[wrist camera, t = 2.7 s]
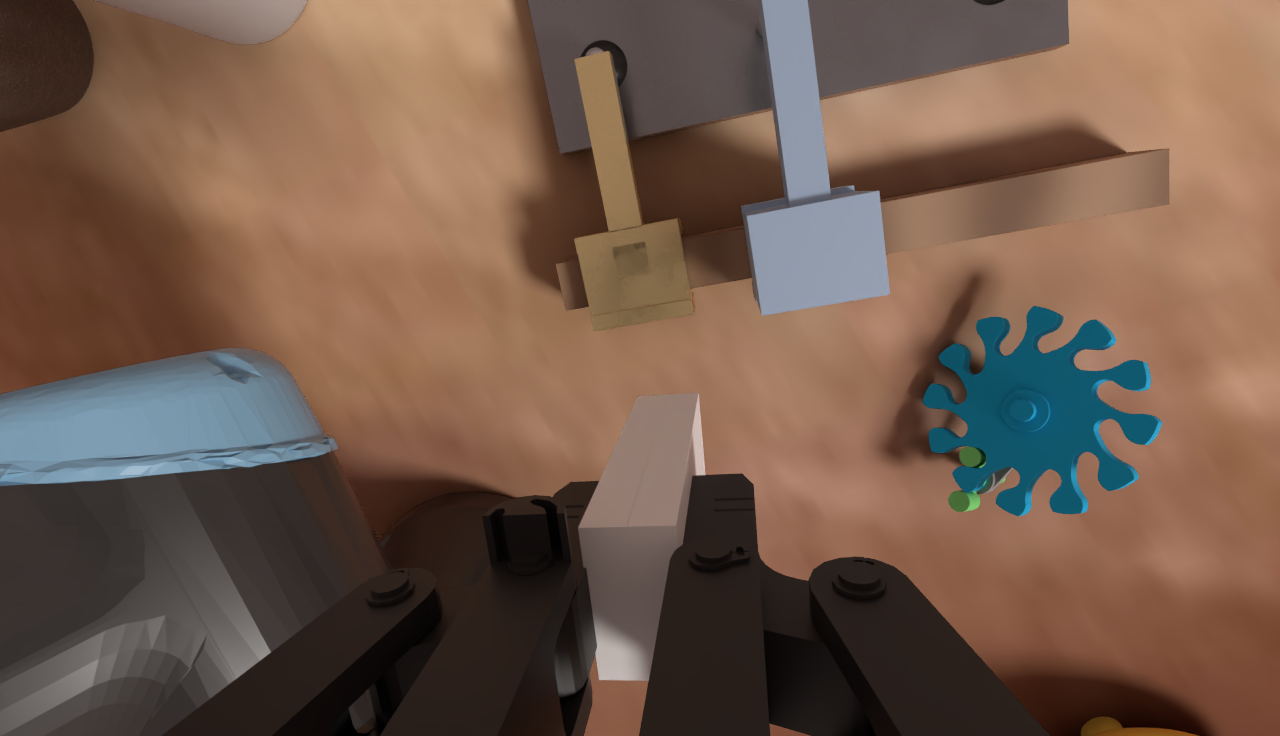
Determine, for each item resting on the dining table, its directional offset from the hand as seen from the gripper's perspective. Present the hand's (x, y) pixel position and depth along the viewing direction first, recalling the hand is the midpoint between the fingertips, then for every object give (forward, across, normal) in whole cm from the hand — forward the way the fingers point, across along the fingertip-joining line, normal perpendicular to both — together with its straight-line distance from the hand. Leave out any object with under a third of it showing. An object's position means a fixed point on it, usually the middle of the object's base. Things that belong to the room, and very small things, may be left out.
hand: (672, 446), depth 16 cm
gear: (+21, +15, -6) cm, 26 cm away
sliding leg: (+19, +4, +7) cm, 21 cm away
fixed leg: (+19, -3, +6) cm, 20 cm away
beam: (+21, +7, +3) cm, 22 cm away
